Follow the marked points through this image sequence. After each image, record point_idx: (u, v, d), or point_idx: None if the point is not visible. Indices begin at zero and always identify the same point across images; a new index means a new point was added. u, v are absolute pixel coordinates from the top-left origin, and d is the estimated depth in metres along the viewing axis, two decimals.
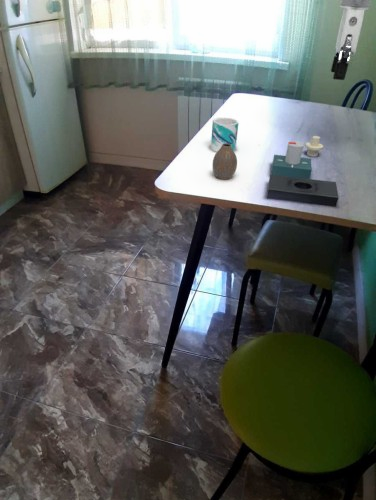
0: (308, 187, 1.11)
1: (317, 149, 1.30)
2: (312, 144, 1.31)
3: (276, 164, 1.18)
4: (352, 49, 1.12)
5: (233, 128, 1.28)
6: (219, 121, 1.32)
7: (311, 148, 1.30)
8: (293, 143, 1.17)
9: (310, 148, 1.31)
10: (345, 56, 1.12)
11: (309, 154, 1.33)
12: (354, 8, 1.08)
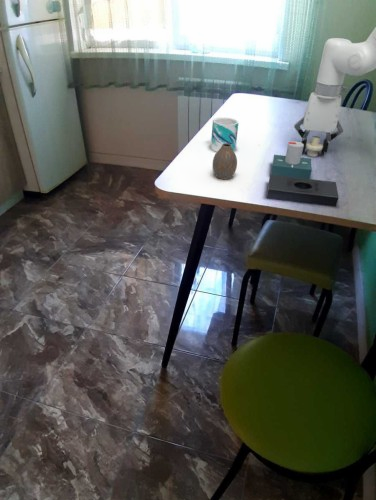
0: (308, 187, 1.11)
1: (317, 149, 1.30)
2: (312, 144, 1.31)
3: (276, 164, 1.18)
4: None
5: (233, 128, 1.28)
6: (219, 121, 1.32)
7: (311, 148, 1.30)
8: (293, 143, 1.17)
9: (310, 148, 1.31)
10: None
11: (309, 154, 1.33)
12: (339, 95, 1.21)
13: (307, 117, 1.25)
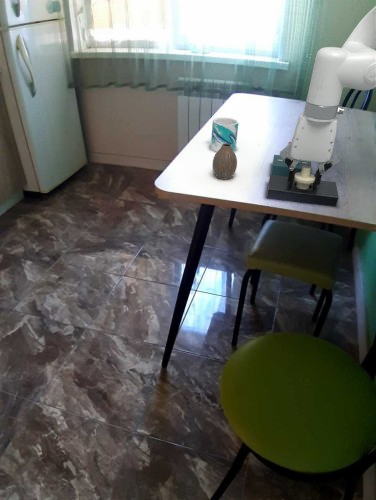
0: None
1: (308, 182, 1.06)
2: (302, 175, 1.07)
3: (276, 164, 1.18)
4: None
5: (233, 128, 1.28)
6: (219, 121, 1.32)
7: (300, 180, 1.06)
8: None
9: (299, 180, 1.07)
10: None
11: (298, 187, 1.09)
12: (335, 118, 0.97)
13: (295, 144, 1.01)
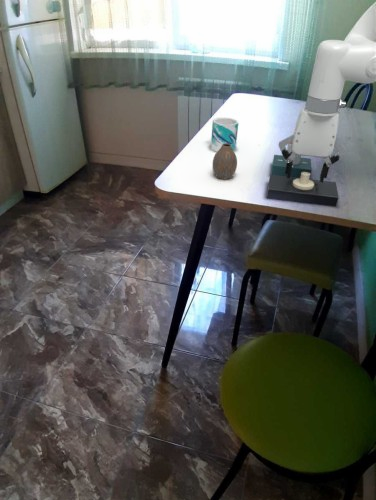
0: None
1: (307, 188, 1.07)
2: (301, 182, 1.08)
3: (276, 164, 1.18)
4: None
5: (233, 128, 1.28)
6: (219, 121, 1.32)
7: (299, 187, 1.08)
8: None
9: (298, 187, 1.08)
10: None
11: None
12: (336, 112, 0.97)
13: (297, 138, 1.00)
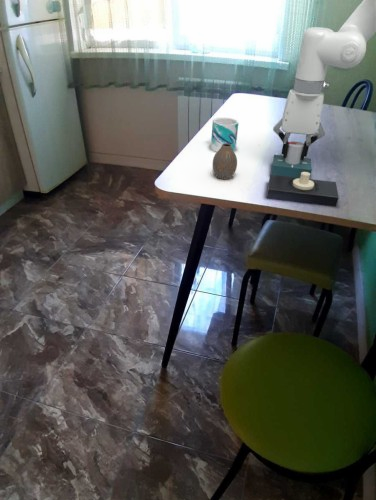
0: None
1: (307, 188, 1.07)
2: (301, 182, 1.08)
3: (276, 164, 1.18)
4: None
5: (233, 128, 1.28)
6: (219, 121, 1.32)
7: (299, 187, 1.08)
8: (293, 143, 1.17)
9: (298, 187, 1.08)
10: None
11: None
12: (321, 93, 1.07)
13: (286, 117, 1.11)
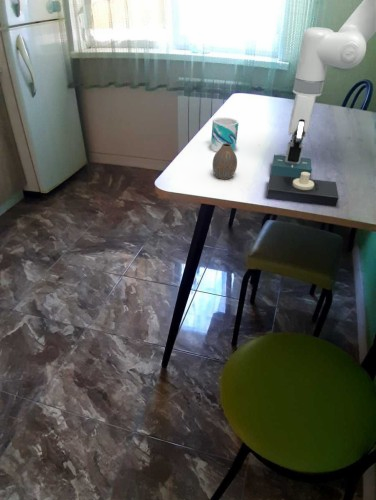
0: None
1: (307, 188, 1.07)
2: (301, 182, 1.08)
3: (276, 164, 1.18)
4: None
5: (233, 128, 1.28)
6: (219, 121, 1.32)
7: (299, 187, 1.08)
8: None
9: (298, 187, 1.08)
10: None
11: None
12: None
13: (309, 122, 1.09)
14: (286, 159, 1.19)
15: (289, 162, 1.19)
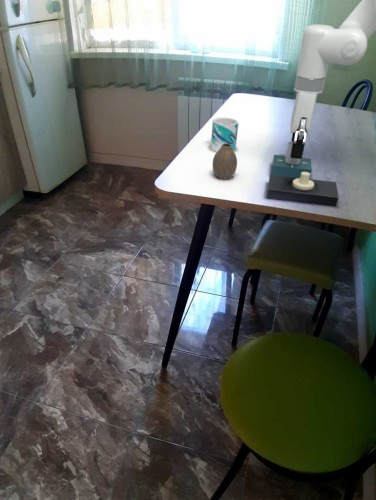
0: None
1: (307, 188, 1.07)
2: (301, 182, 1.08)
3: (276, 164, 1.18)
4: None
5: (233, 128, 1.28)
6: (219, 121, 1.32)
7: (299, 187, 1.08)
8: None
9: (298, 187, 1.08)
10: None
11: None
12: None
13: (311, 120, 1.08)
14: (286, 159, 1.19)
15: (289, 162, 1.19)
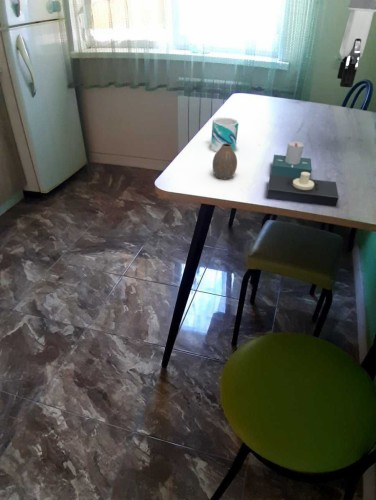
0: None
1: (307, 188, 1.07)
2: (301, 182, 1.08)
3: (276, 164, 1.18)
4: None
5: (233, 128, 1.28)
6: (219, 121, 1.32)
7: (299, 187, 1.08)
8: (297, 144, 1.16)
9: (298, 187, 1.08)
10: None
11: None
12: None
13: (365, 42, 1.03)
14: (286, 159, 1.19)
15: (289, 162, 1.19)
